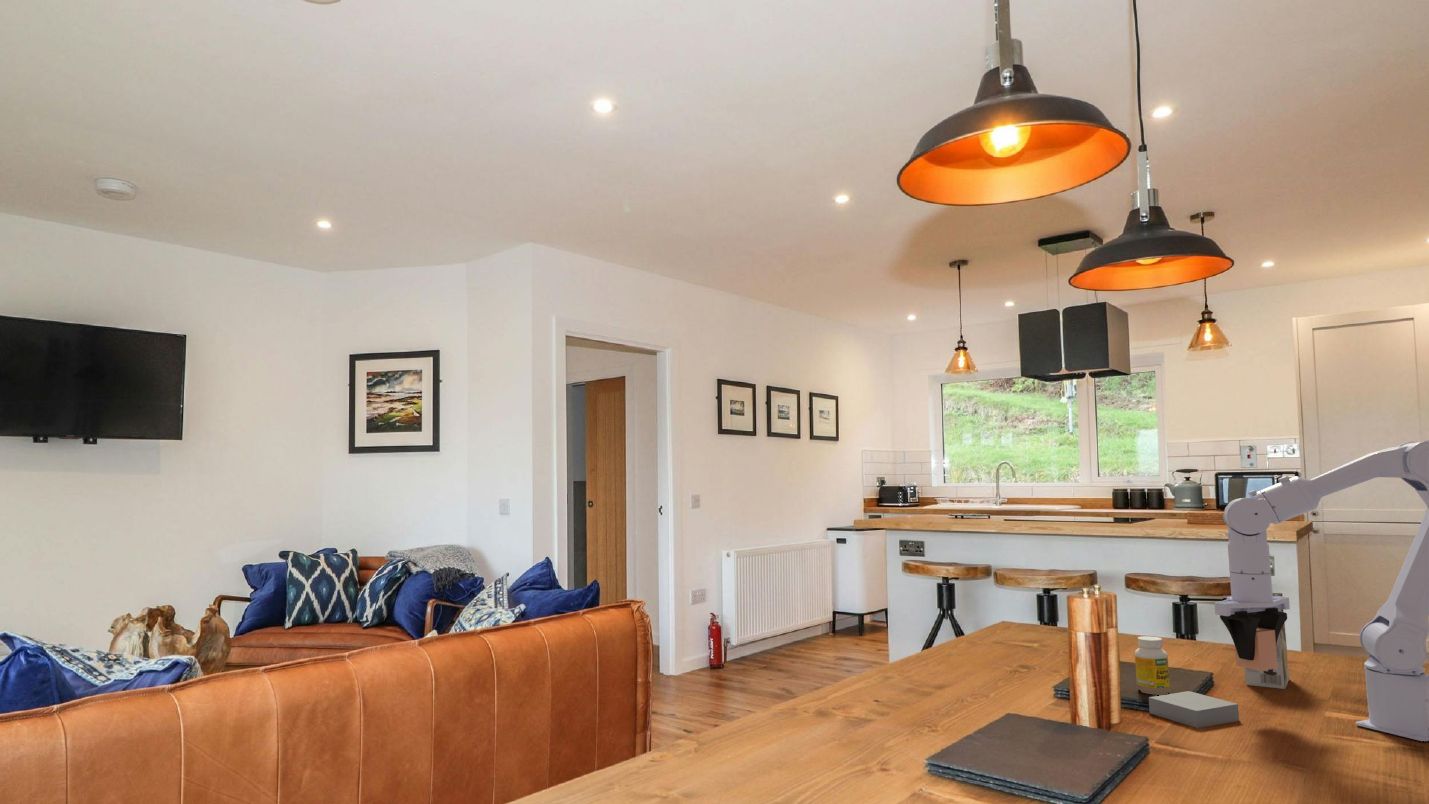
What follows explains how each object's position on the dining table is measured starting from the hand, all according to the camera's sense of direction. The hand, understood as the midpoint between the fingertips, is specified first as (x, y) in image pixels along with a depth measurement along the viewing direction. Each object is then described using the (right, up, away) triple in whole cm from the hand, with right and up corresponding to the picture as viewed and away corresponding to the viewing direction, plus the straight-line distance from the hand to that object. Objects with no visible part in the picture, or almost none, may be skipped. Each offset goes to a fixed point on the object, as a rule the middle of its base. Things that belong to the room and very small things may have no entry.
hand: (1256, 657), depth 137 cm
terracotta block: (0, -2, 0) cm, 2 cm away
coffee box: (+16, -11, +21) cm, 29 cm away
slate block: (-10, -10, +1) cm, 14 cm away
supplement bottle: (-8, -11, +16) cm, 22 cm away
